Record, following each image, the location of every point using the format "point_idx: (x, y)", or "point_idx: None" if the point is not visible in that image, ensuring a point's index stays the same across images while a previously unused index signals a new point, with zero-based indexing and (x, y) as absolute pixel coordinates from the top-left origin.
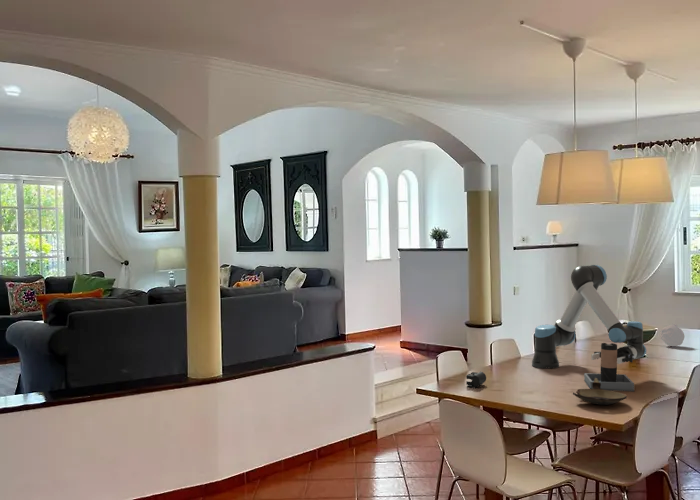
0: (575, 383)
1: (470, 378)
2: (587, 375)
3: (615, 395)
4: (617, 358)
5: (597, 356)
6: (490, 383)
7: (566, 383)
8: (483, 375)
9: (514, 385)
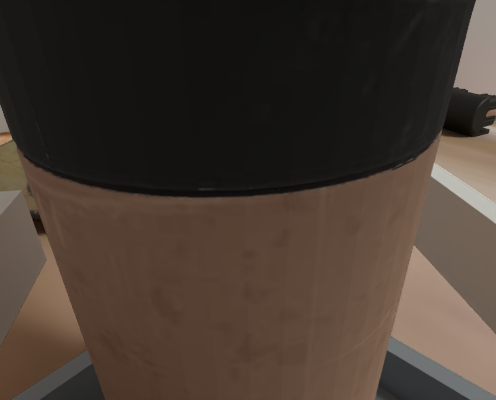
0: (437, 344)
1: None
2: (442, 379)
3: (33, 209)
4: (17, 194)
5: (491, 282)
6: (488, 149)
7: (448, 303)
8: (462, 103)
9: (444, 168)
